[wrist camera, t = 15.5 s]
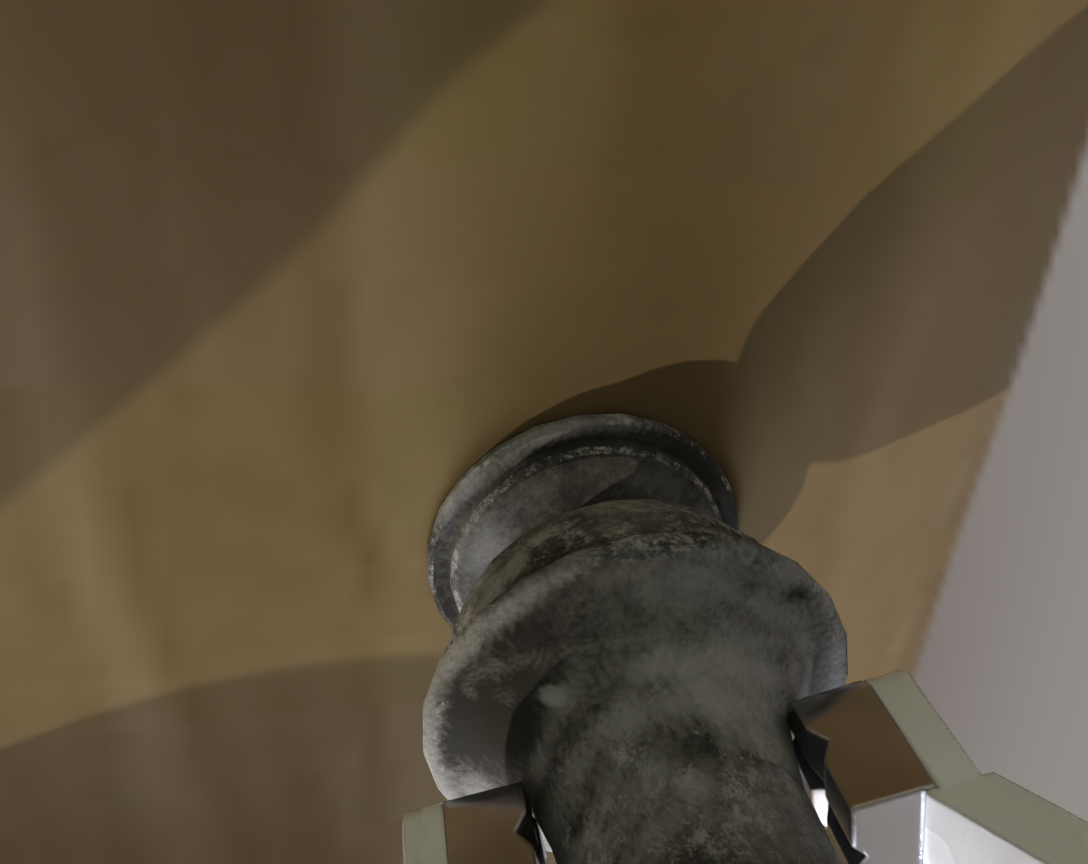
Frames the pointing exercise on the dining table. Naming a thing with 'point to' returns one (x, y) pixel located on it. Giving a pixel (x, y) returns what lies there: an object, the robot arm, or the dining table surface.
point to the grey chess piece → (625, 651)
